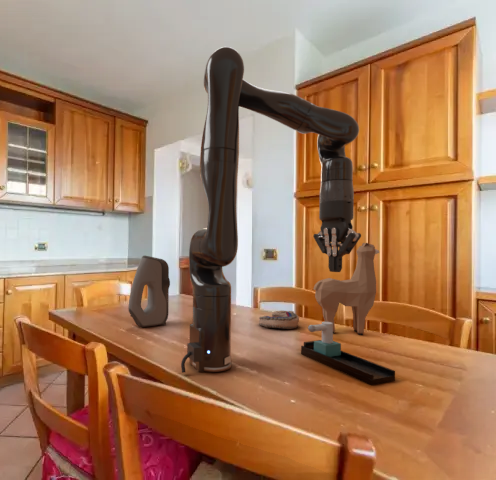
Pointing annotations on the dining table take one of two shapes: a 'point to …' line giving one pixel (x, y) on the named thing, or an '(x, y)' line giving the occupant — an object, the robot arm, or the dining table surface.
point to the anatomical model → (280, 320)
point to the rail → (351, 365)
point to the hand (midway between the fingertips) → (335, 271)
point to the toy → (350, 290)
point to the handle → (326, 340)
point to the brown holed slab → (150, 292)
